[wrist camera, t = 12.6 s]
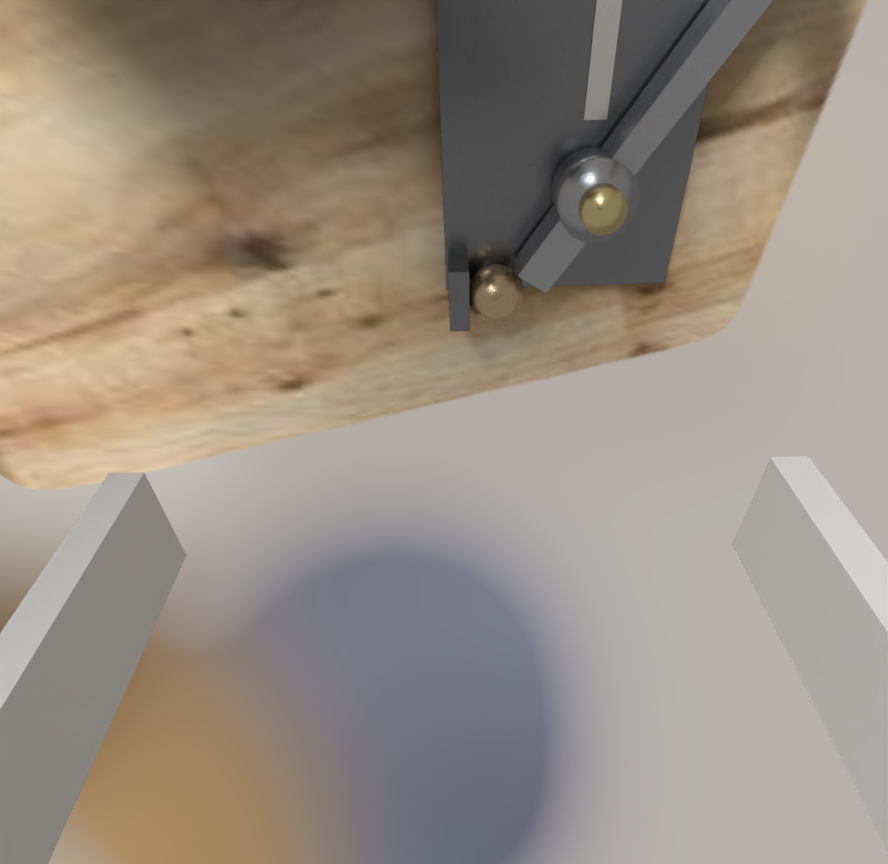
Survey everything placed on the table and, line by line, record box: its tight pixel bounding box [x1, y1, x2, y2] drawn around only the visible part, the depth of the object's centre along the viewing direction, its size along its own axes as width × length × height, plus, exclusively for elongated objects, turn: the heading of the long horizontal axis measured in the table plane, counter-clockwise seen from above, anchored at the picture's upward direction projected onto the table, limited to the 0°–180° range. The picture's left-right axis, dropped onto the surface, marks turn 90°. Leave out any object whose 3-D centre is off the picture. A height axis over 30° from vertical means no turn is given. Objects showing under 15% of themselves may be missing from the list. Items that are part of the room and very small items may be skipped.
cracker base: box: [436, 0, 710, 331], centre depth 34 cm, size 23×17×7 cm
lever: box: [514, 0, 773, 293], centre depth 28 cm, size 25×5×13 cm, turn 148°
